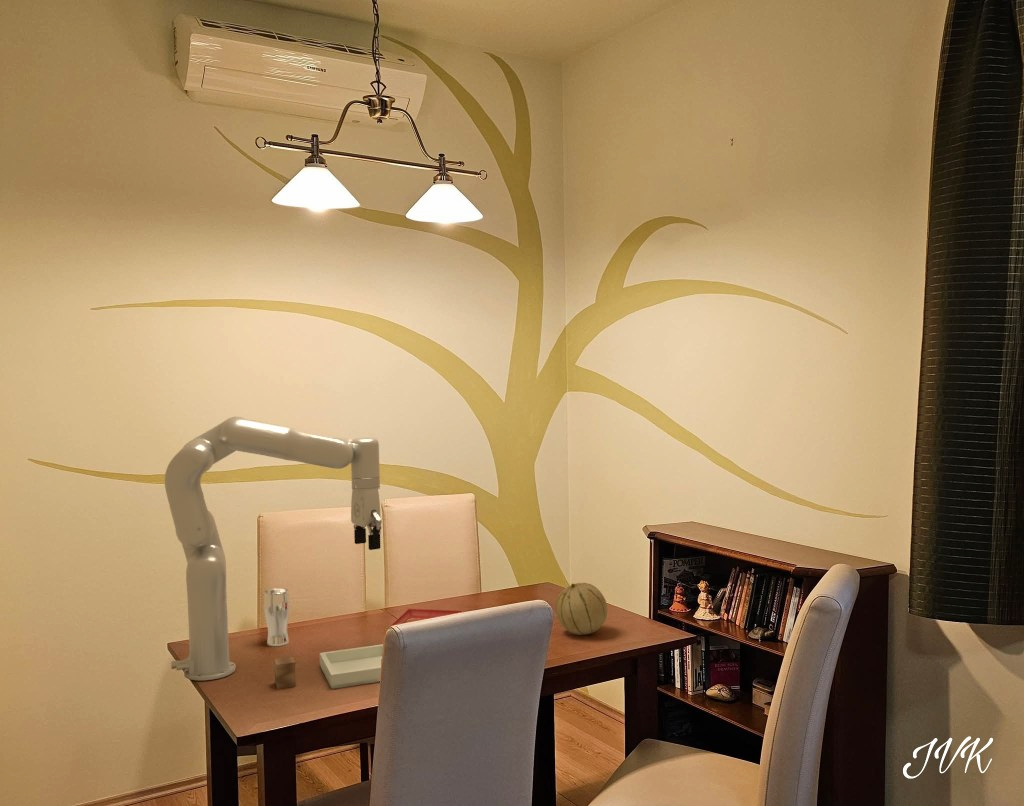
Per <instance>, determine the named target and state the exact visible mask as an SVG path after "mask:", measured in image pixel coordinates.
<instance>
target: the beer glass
mask: <svg viewBox="0 0 1024 806" xmlns="http://www.w3.org/2000/svg"><path fill="white" fill-rule="evenodd" d="M289 597H290V596H289V590H288V588H283V587H282V588H281V587H277V588H269V589H267V590H265V591H264V596H263V612H264V616H265V622H266V625H267V641H266V645H267V646H269V647H281V646H285V645H287V644H289V642H290V639H289V634H288V624H289V623H288V621H289V616H290V598H289Z"/></svg>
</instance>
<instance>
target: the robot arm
mask: <svg viewBox="0 0 1024 806" xmlns="http://www.w3.org/2000/svg"><path fill="white" fill-rule="evenodd" d="M236 451H238V452H242V453H247V454H254V455H259V456H260V455H261V456H266V457H270V458H275V459H280V460H285V461H291V462H298V463H302V464H303V463H304V464H307V465H308V464H309V465H313V466H319V467H325V468H328V469H329V468H330V469H338V470H339V469H344V468H347V467H348V466H349V465H350V467H351V468H350V470H351V471H350V472H351V474H350V475H351V492H352V493H351V507H350V512H351V513H350V521H351V523H352V524H354V525H353V532H354V533H353V535H354V544H356V545H359V544H366V543H367V541H368V545H367V546H368V550H370V551H373V550H380V549H381V533H382V532H381V530H382V522H383V521H382V519H381V504H380V503H381V502H380V494H379V489H381V484H380V483H381V482H380V481H381V480H380V479H381V478H380V477H381V476H380V444H379V441H378V439H377V438H374V437H357V438H342V437H332V438H329V437H325V436H319V435H314V434H311V433H310V434H309V433H307V432H306V433H305V432H303V431H299V430H297V429H295V428H292V427H288V426H285V425H279V424H274V423H273V424H272V423H268V422H262V421H258V420H252V419H248V418H244V417H242V416H231V417H229V418H227V419H225V420H223V422H221V423H219V424H217V425H216V426H214V427H212V428H211V429H209V430H207V431H205V432H203V433H202V434H200V435H198V436H196V437H195V438H193V439H191V440H189V441H188V442H187V443H185V445H183V447H182V448H181V449H180V450H179V451H178V452H177V453H176V454H175V455H174V456H173V457H172V459H171V460H170V461H169V463H168V465H167V467H166V470H165V473H164V488H165V495H166V497H167V501H168V504H169V510H170V513H171V517H172V520H173V525H174V528H175V535H176V537H177V539H178V541H179V542H180V543H181V545H182V549H183V553H184V556H185V559H186V562H187V564H186V569H185V579H186V580H185V582H186V592H187V595H186V597H187V598H186V599H187V617H188V639H189V641H188V642H189V654H188V657H186V658H185V657H184V659H183V660H173V661H171V670H176V671H182V670H184V671H183V674H184V678H185V679H188V680H191V681H197V682H198V681H212V680H217V679H221V678H224V677H227V676H229V675H232V674H234V672H235V671H236V667H237V665H236V663H234V661H232V660H231V661H230V650H229V649H230V648H229V647H230V646H229V622H228V621H229V620H228V619H229V616H228V602H227V601H228V599H227V598H228V597H227V596H228V595H227V594H228V593H227V560H226V556H225V553H224V549H223V548H224V547H223V544H222V542H221V539H220V535H219V530H218V528H217V524H216V520H215V517H214V516H213V514H212V513H211V511H209V509H208V506H207V503H206V500H205V496H204V493H203V489H202V485H201V479H202V477H203V476H204V474H205V473H206V472H208V471H209V470H210V469H211V468H212V467H213V465H215V464H217V463H218V462H220V461H221V460H223V459H225V458H227V457H229V456H230V455H231V454H233V453H235V452H236ZM366 527H367V529H366ZM367 530H368V533H369V534H367Z"/></svg>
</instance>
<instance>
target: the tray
mask: <svg viewBox="0 0 1024 806" xmlns="http://www.w3.org/2000/svg"><path fill="white" fill-rule="evenodd" d="M383 644H384V643H382V644H374V645H369V646H360V647H354V648H346V649H345V648H344V649H339V650H331V651H326V652H325V651H324V652H319V666H320V669H321V671H322V672H323V675H324V676H325V679H326V681H327V682H328V685H329V687H330V688H331V690H336V689H341V688H347V687H354V686H360V685H361V686H362V685H368V684H373V683H380V682H379V679H380V671H381V659H382V652H383Z"/></svg>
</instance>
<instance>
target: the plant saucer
mask: <svg viewBox="0 0 1024 806" xmlns="http://www.w3.org/2000/svg"><path fill="white" fill-rule="evenodd" d="M458 612H463V613H464V610H450V609H449V610H448V609H431V608H430V609H428V608H427V609H426V608H408V609H406V610H405V611H404V612H403V613H402V614H401V615H400V616H398V618H396V619H395V620H394V621H393V622H392V623H391V624H390V625H388V627H389V628H390V627H391V626H392V625H395V624H398V623H403V622H407V620H408V619H410V618H416V619H414V620H420V619H425V618H431V617H436V616H442V615H447V614H453V613H458ZM417 618H420V619H417ZM414 620H409V621H414Z"/></svg>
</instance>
